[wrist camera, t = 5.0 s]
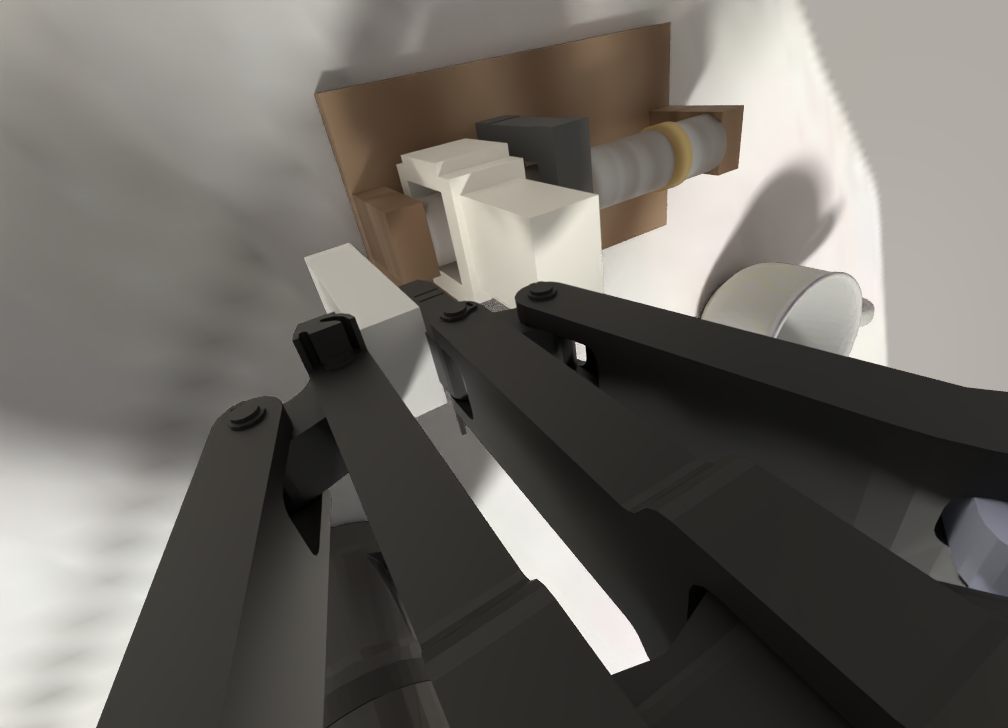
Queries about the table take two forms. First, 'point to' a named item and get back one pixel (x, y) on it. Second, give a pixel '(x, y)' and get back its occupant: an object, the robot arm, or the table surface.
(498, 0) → the table surface
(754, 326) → the teacup
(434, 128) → the pipe rig
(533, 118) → the charcoal slab
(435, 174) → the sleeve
